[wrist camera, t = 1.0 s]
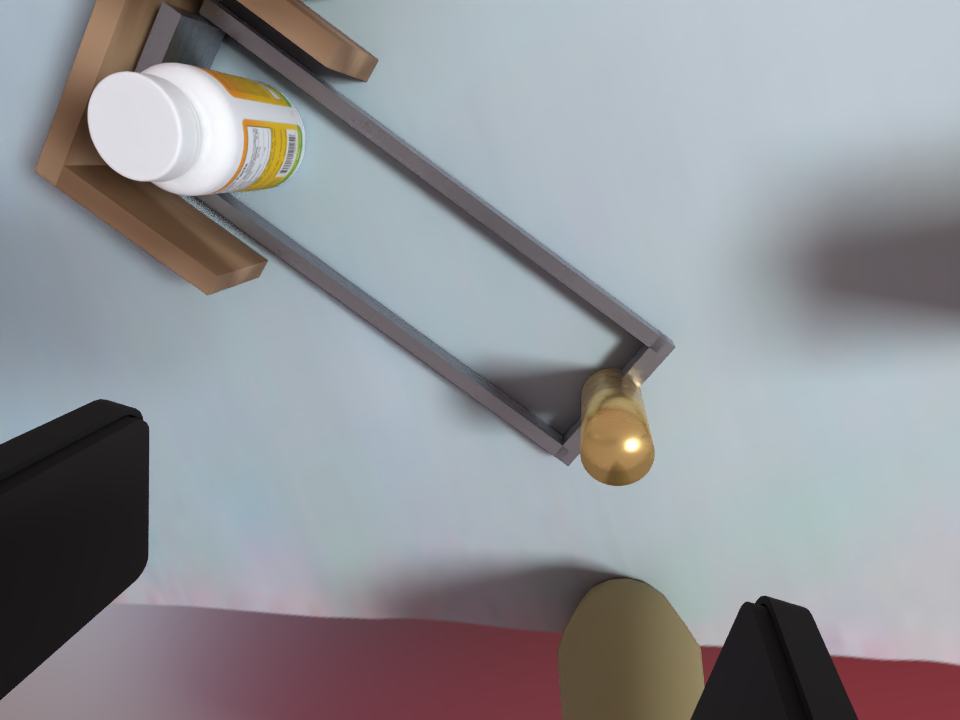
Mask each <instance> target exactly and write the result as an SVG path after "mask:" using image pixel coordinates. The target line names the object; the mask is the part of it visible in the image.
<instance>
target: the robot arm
mask: <svg viewBox="0 0 960 720" xmlns="http://www.w3.org/2000/svg"><path fill="white" fill-rule="evenodd" d="M148 526H149V426H148V424H147V423H146V422H145V421H143V416H142V415H141V413H140V411H138V410H137V409H135V408H132V407H129V406H125V405H122V404H119V403H115V402H112V401H109V400H103V399H99V400H96V401H93V402H91V403H89V404H86V405H84V406H82V407H80V408H78V409H76V410H73V411H71V412H69V413H67V414H65V415H63V416H61V417H58V418H56V419H54V420H52V421H50V422H48V423H45V424H43V425H41V426H39V427H37V428H35V429H33V430H30V431H28V432H26V433H24V434H22V435H20V436H18V437H15V438H13V439H11V440H9V441H7V442H5V443H2V444H0V700H1V699H2V698H3V697H5V696H6V695H7V694H8V693H9V692H10V691H11V690H12V689H14V688H15V687H16V686H17V685H18V684H19V683H20V682H21V681H23V680H24V679H25V678H26V677H27V676H28V675H29V674H31V673H32V672H33V671H34V670H35V669H36V668H37V667H38V666H40V665H41V664H42V663H43V662H44V661H45V660H46V659H47V658H49V657H50V656H51V655H52V654H53V653H54V652H55V651H56V650H58V649H59V648H60V647H61V646H62V645H63V644H64V643H66V642H67V641H68V640H69V639H70V638H71V637H72V636H73V635H75V634H76V633H77V632H78V631H79V630H80V629H81V628H82V627H84V626H85V625H86V624H87V623H88V622H89V621H91V620H92V619H93V618H94V617H95V616H96V615H97V614H98V613H100V612H101V611H102V610H103V609H104V608H105V607H106V606H107V605H109V604H110V603H111V602H112V601H113V600H114V599H115V598H117V597H118V596H119V595H120V594H121V593H122V592H123V591H124V590H126V589H127V588H128V587H129V586H130V585H131V584H132V583H134V582H135V581H136V580H137V579H138V578H139V576H140V575H141V573H142V572H143V570H144V568H145V566H146V564H147V561H148ZM690 720H858V718H857V716H856V714H855V711H854V709H853V707H852V704H851V702H850V700H849V698H848V696H847V693H846V691H845V689H844V686H843V684H842V682H841V680H840V677H839V675H838V673H837V671H836V668H835V666H834V664H833V661H832V659H831V657H830V655H829V652H828V650H827V648H826V646H825V643H824V641H823V639H822V637H821V634H820V632H819V630H818V628H817V625H816V623H815V621H814V619H813V616H812V615H811V613H810V611H809V610H808V609H806V608H804V607H801V606H798V605H795V604H791V603H788V602H784V601H781V600H778V599H774V598H771V597H768V596H761V597H760V598H759V599H758V600H757V601H756V603H755V604H754V603H751V602H745V603H744V604H743V605H742V606H741V608H740V610H739V612H738V615H737V617H736V619H735V621H734V623H733V626H732V628H731V630H730V632H729V635H728V637H727V639H726V641H725V643H724V646H723V648H722V650H721V652H720V655H719V657H718V659H717V661H716V663H715V666H714V668H713V670H712V672H711V675H710V677H709V679H708V681H707V683H706V686H705V688H704V690H703V692H702V695H701V697H700V699H699V701H698V703H697V706H696V708H695V710H694V712H693V715H692V717H691V719H690Z"/></svg>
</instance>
